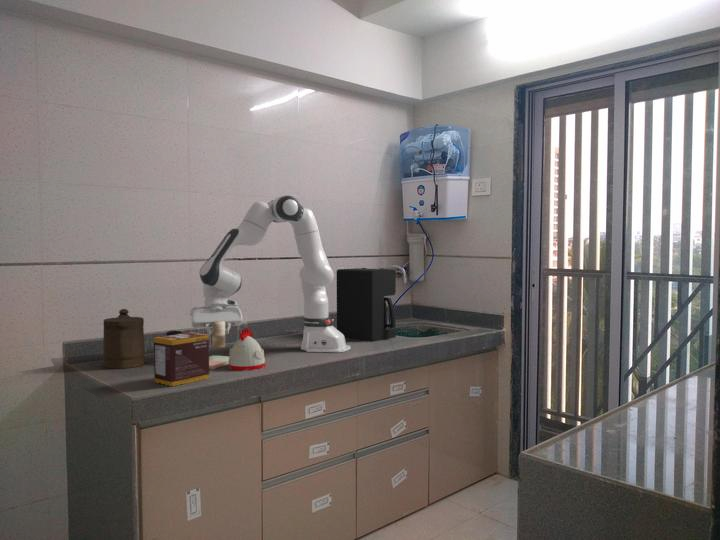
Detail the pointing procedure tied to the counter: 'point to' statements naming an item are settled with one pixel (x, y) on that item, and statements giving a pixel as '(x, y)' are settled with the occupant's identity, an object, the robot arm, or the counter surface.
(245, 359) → the kitchen timer
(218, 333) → the beige cylinder
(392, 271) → the coffee maker
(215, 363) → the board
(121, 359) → the wooden container
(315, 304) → the robot arm
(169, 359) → the supplement box
